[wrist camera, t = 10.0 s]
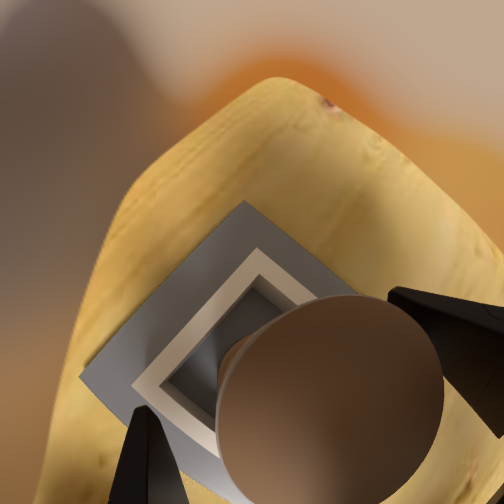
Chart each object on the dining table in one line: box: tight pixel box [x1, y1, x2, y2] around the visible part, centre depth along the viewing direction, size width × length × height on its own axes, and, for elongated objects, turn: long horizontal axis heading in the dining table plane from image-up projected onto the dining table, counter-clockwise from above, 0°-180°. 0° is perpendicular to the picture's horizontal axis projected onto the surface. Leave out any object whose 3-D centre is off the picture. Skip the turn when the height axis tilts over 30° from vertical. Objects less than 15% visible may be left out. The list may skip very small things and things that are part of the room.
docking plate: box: [79, 201, 359, 504], centre depth 15 cm, size 16×16×4 cm
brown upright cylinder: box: [215, 294, 444, 504], centre depth 10 cm, size 5×5×12 cm
